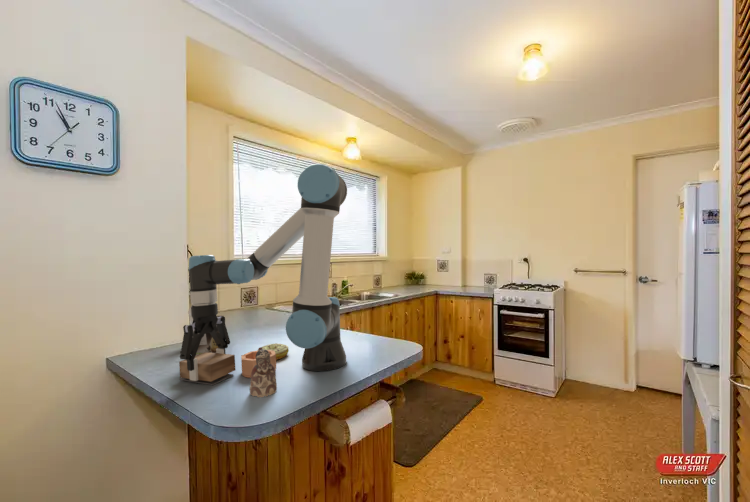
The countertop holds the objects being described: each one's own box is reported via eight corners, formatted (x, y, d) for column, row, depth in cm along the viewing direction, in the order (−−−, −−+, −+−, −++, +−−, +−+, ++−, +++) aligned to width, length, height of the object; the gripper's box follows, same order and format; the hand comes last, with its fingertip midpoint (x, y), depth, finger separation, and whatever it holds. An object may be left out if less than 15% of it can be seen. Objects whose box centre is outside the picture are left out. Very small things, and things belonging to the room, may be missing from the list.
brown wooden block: (235, 370, 107) (234, 354, 107) (211, 381, 99) (210, 364, 99) (205, 366, 112) (205, 352, 112) (180, 377, 103) (179, 361, 103)
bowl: (282, 367, 112) (281, 351, 112) (260, 379, 102) (260, 361, 102) (257, 364, 116) (257, 348, 116) (234, 375, 106) (234, 358, 106)
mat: (233, 375, 107) (233, 374, 107) (212, 385, 99) (212, 384, 99) (201, 370, 112) (201, 369, 112) (179, 379, 104) (179, 378, 104)
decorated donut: (250, 358, 124) (250, 347, 124) (279, 350, 132) (278, 340, 132) (264, 364, 116) (264, 353, 116) (294, 356, 124) (293, 345, 124)
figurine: (250, 399, 89) (249, 354, 89) (249, 389, 95) (247, 347, 95) (278, 393, 92) (276, 350, 92) (275, 384, 98) (273, 344, 98)
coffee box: (209, 366, 116) (207, 320, 116) (193, 365, 117) (191, 320, 117) (226, 357, 125) (224, 315, 125) (211, 357, 126) (209, 315, 126)
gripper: (223, 298, 117) (226, 361, 117) (162, 310, 96) (166, 386, 97) (239, 298, 114) (243, 363, 114) (180, 310, 94) (185, 389, 94)
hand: (208, 373), depth 105 cm, fingers closed on brown wooden block, 9 cm apart
